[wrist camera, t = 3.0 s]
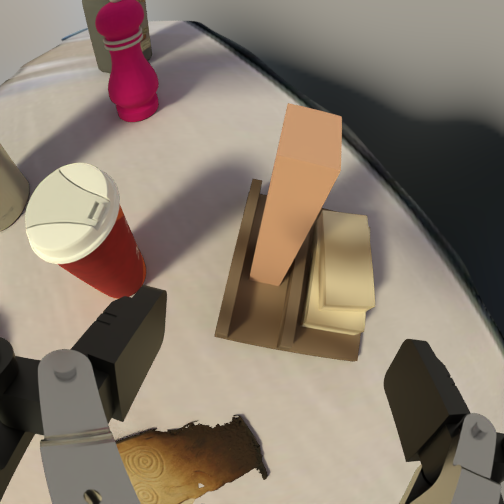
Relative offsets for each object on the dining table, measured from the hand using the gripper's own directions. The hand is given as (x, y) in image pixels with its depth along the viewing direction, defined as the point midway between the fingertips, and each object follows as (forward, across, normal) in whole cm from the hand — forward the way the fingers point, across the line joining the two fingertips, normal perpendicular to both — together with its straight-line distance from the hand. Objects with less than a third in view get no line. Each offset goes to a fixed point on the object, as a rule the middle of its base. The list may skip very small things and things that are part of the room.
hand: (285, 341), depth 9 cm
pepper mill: (+36, +23, -7) cm, 43 cm away
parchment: (+4, +7, +25) cm, 26 cm away
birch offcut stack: (+20, -7, +6) cm, 23 cm away
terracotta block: (+20, 0, +6) cm, 21 cm away
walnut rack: (+21, -4, +7) cm, 23 cm away
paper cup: (+18, +15, +10) cm, 26 cm away
